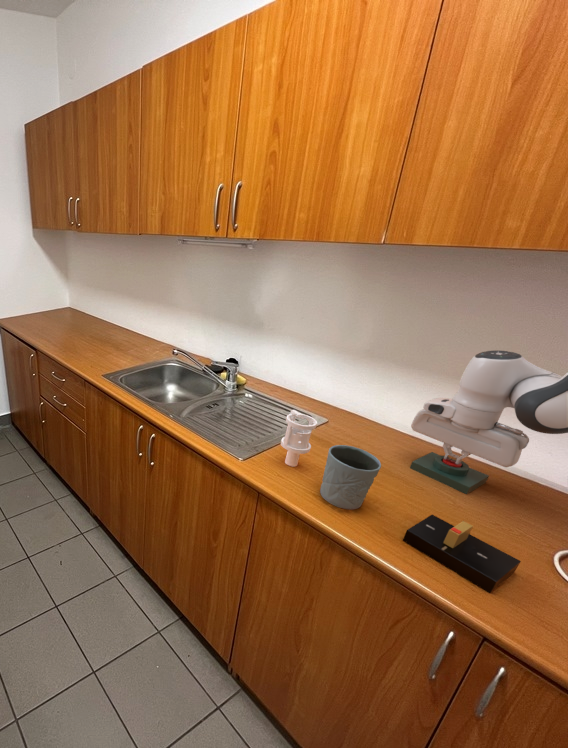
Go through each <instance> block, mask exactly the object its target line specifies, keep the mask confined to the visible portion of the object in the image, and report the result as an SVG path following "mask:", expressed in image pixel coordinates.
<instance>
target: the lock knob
mask: <svg viewBox="0 0 568 748" xmlns="http://www.w3.org/2000/svg"><path fill="white" fill-rule="evenodd" d="M453 526H454V527H453V528H451V529H450V530H449V532H448V534H447V536H446V538H445V540H444V542H443V543H444V544H446V545H448V546H449V547H451V548H454V547H456V546H457V545H459V544H460V543H462V542H463V541H464V540H466V539H467V538H468V536H469V534H470V533H471V531H472V529H473V527H474V525H473V524H470V523H469V522H467V521H465V520H462V521H461V522H459V523H458V524H456V525H453ZM470 535H471V534H470Z"/></svg>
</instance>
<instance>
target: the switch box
mask: <svg viewBox="0 0 568 748" xmlns="http://www.w3.org/2000/svg"><path fill="white" fill-rule="evenodd" d="M444 457H445V455H442V454H438V453H437V452H433V451H430V452H429V453H427V454H425V455H423V456H420V457H418V458H416V459H415V460H412V461H411V464H410V466H409V469H410V470H412V471H415V472H417V473H420V474H421V475H423V476H426V477H428V478H430V479H431V480H434V481H437V482H439V483H441V484H443V485H445V486H447V487H450V488H451V489H454V490H456V491H458V492H459V493H462V494H465V495H468V494H470V493H471V492H473V491H475V490H476V489H478V488H480V487H481V486H482V485H484V484H486V483H487V481H488V479H489V477H490V475H489V474H487V473H484V472H482V471H479V470H477V469H474V468H471V467H470V465H469V464H468V463H466V462H464V461H463V460H462V462H461V464H462V466H461V468H457V467H452V466H449V465H447V464H445V463H443V462H442V461H443V459H444Z"/></svg>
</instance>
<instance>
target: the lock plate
mask: <svg viewBox="0 0 568 748" xmlns="http://www.w3.org/2000/svg"><path fill="white" fill-rule="evenodd" d="M454 526H455V525H453V524H451V523H450V522H447V521H446V520H444V519H442V518H440V517H438V516H436V515H434V514H431V515H429V516H427V517H425V518H424V519H423V520H421V521H419V522H417V523H416V524H414V525H412V526H411V527H409V528H408V529H406V531H405V533H404V536H403V538H402V542H404V543H407V544H408V545H409V546H410V547H413V548H414V549H416V550H418V551H419V552H421V553H422V554H424V555H426V556H427V557H429V558H431V559H432V560H434V561H436V562H437V563H439V564H440V565H442V566H444V567H445V568H447V569H449V570H450V571H452V572H454V573H455V574H457V575H458V576H460V577H462V578H464V579H466V581H468V582H470V583H472V584H474V585H475V586H477V587H479V588H480V589H481V590H483V591H485V592H486V593H489V594H491V593H492V592H494V591H495V590H496V589H497V588H498V587H499V586H501V585H502V584H503V583H505V581H507V580H508V579H509V578H510V577H512V575H513V574H515V572H516V570H517V569H518V567H519V566H520V564H521V562H522V561H521V560H519V559H518V558H516V557H514V556H511V555H510V554H508V553H506V552H504V551H502V550H501V549H499V548H497V547H495V546H493V545H491V544H489V543H487V542H485V541H483V540H482V539H479V538H478V537H476V536H474V535H473V534H469V536H468V538H467V539H466V540H464V541H463V542H462V543H460V544H459V545H457V546H456V547H454V548H451V547H449V546H448V545H446V544H444V543H443V542H444V540H445V538H446V536H447V534H448V532H449V530H450V529H451V528H453V527H454Z"/></svg>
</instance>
